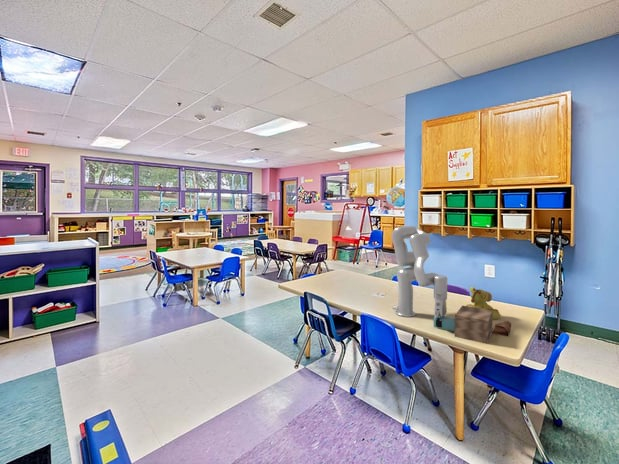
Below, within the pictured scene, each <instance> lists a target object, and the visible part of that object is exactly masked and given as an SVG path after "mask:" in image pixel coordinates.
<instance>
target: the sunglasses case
mask: <svg viewBox="0 0 619 464" xmlns="http://www.w3.org/2000/svg"><path fill="white" fill-rule="evenodd" d="M511 327H512V324H511V322H510V321H509V320H505V321H502V322H498V323H495V324H494V327H493V328H492V333H491V334H493V335H498V336H504V337H509V335H510V331H511Z"/></svg>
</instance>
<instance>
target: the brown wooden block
mask: <svg viewBox="0 0 619 464" xmlns="http://www.w3.org/2000/svg"><path fill="white" fill-rule="evenodd" d="M454 318H455V331H454V337H455V338H459V339H464V340H468V341H473V342H477V343H480V344H481V343H482V344H485V345H488V343H489V340H490V339H491V336H492V334H493V333H492V331H493V320H494V319H493V311H492V310H486V309H480V308H474V307H468V306H466V305H461V307H460V308H459V309H458V311H457V312H456V313H455V314H454Z"/></svg>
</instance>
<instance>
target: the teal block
mask: <svg viewBox="0 0 619 464" xmlns="http://www.w3.org/2000/svg"><path fill="white" fill-rule="evenodd" d="M439 317H440V316H439ZM441 321H442V327H436V315H435V314H434V316H433V328H437V329H441V330H445V331H451V332H455V317H454V318H453V317H450V316H449V317H448V316H445V315H444V316H443V317H442V316H441Z"/></svg>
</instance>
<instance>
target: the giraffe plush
mask: <svg viewBox="0 0 619 464" xmlns="http://www.w3.org/2000/svg"><path fill="white" fill-rule="evenodd" d="M469 292H471V296H470V298H471V299H470V301H471V304H466V305H465V306H468V307H474V308H480V309H486V310H492V311H493V319H492V320H500V319H501V314H500V312H499V310H498V309H497V308H494V307H492V306H491V305H489V303H488V302H491V301H492V299H493V296H492V293H491V292H490V291H486V290H483V289H476V288H475V287H474V286H471V287H470V288H469Z"/></svg>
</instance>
